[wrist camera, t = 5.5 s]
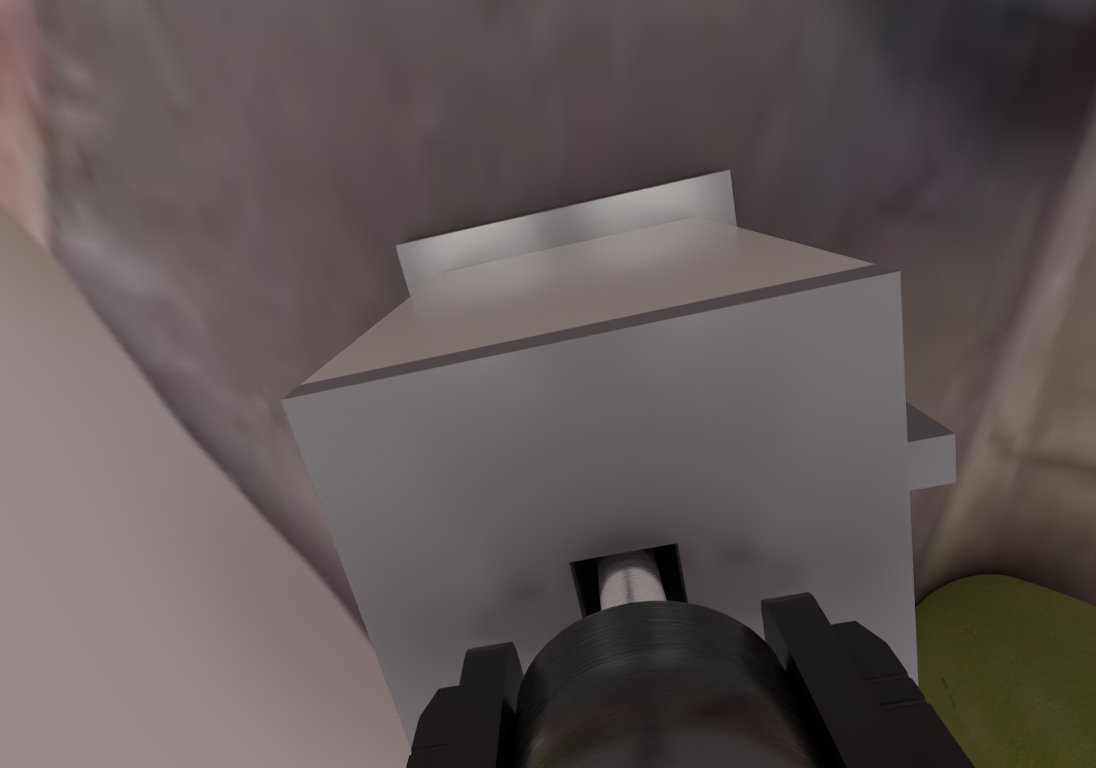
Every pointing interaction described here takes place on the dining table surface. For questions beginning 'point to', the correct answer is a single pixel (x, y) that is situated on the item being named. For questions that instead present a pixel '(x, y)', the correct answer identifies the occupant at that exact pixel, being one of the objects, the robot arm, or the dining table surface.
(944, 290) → the dining table surface
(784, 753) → the plunger
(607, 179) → the dining table surface
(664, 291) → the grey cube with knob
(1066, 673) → the flower pot
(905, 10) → the dining table surface
